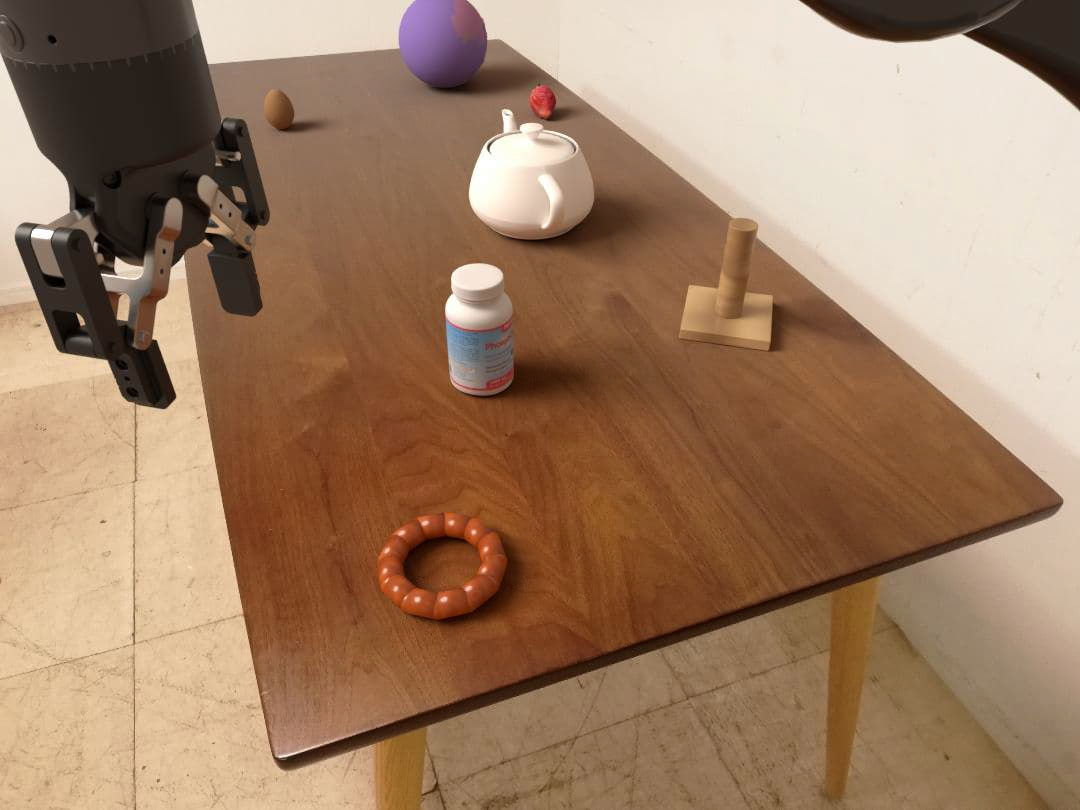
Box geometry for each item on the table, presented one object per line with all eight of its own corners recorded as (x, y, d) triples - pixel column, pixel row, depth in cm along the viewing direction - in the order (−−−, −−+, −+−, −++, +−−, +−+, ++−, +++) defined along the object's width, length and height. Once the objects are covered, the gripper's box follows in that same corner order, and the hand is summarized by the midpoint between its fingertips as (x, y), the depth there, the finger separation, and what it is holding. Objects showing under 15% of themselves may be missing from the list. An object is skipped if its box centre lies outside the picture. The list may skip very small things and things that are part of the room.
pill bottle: (500, 404, 75) (497, 299, 68) (439, 390, 77) (430, 286, 70) (523, 367, 80) (522, 265, 73) (465, 355, 81) (459, 254, 74)
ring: (519, 536, 63) (519, 520, 62) (484, 635, 56) (484, 619, 55) (406, 515, 64) (404, 499, 63) (359, 608, 58) (356, 592, 56)
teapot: (620, 256, 97) (628, 156, 89) (492, 273, 94) (489, 171, 86) (559, 172, 116) (561, 84, 108) (451, 184, 112) (445, 93, 105)
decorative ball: (495, 97, 140) (493, 1, 130) (407, 102, 137) (397, 5, 128) (481, 69, 151) (478, -20, 142) (399, 74, 149) (390, -17, 139)
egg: (294, 133, 126) (287, 94, 122) (265, 134, 126) (257, 94, 122) (299, 123, 130) (292, 84, 126) (270, 123, 129) (262, 84, 126)
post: (770, 304, 89) (791, 209, 82) (768, 351, 82) (791, 251, 75) (687, 293, 91) (701, 199, 83) (678, 338, 84) (692, 239, 77)
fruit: (534, 123, 130) (534, 91, 127) (526, 110, 135) (526, 79, 132) (560, 121, 131) (560, 89, 128) (551, 108, 136) (551, 77, 133)
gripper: (59, 92, 27) (191, 453, 37) (269, -8, 38) (326, 294, 48) (-127, 74, 28) (49, 428, 39) (127, -17, 39) (212, 278, 49)
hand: (203, 353), depth 43 cm, fingers open, 8 cm apart
